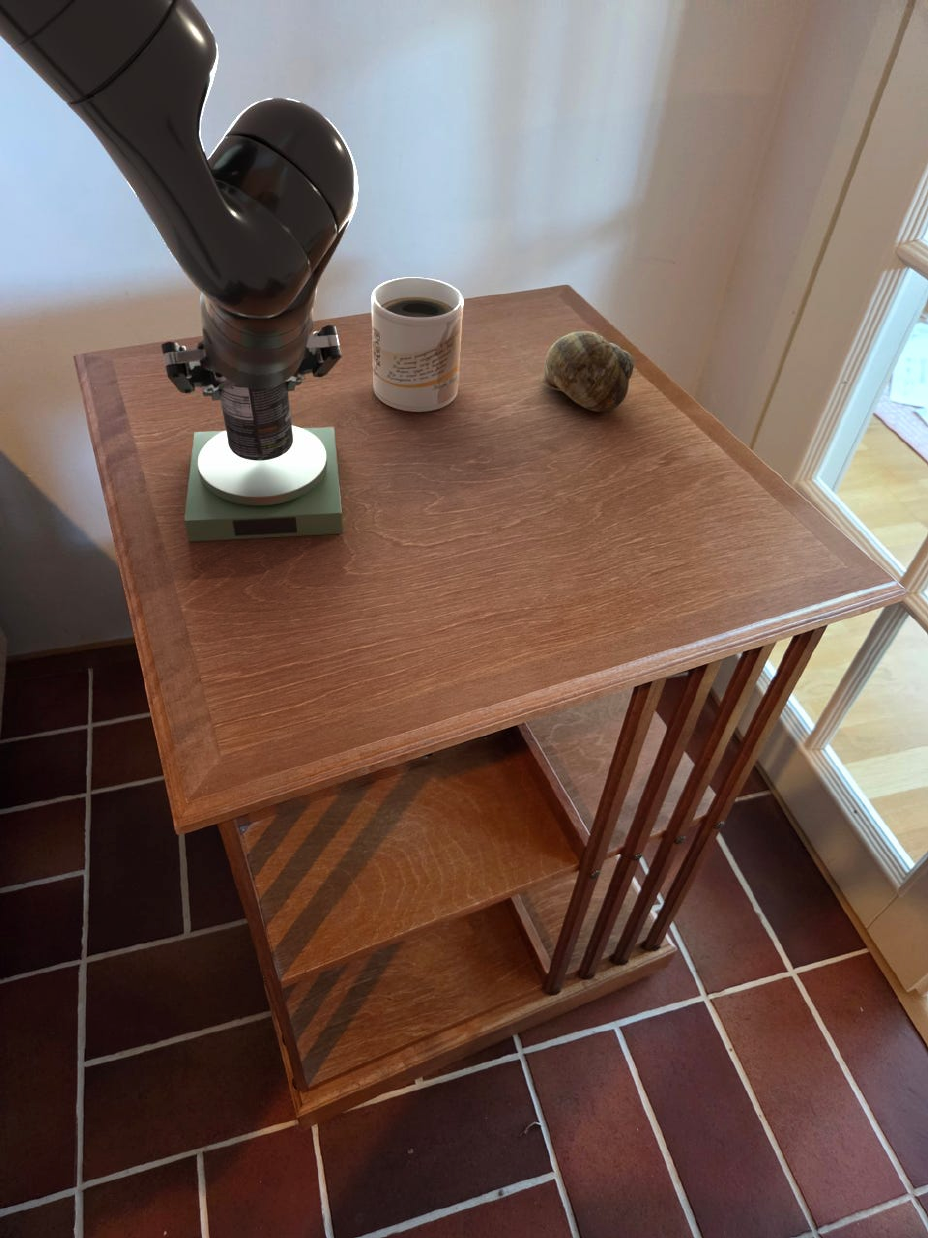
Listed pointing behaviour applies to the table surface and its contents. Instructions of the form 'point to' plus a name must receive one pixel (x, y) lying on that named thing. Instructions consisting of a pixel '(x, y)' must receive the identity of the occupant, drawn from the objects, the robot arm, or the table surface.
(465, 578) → the table surface
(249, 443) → the pill bottle
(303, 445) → the scale
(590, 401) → the seashell
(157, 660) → the table surface
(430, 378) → the mug
